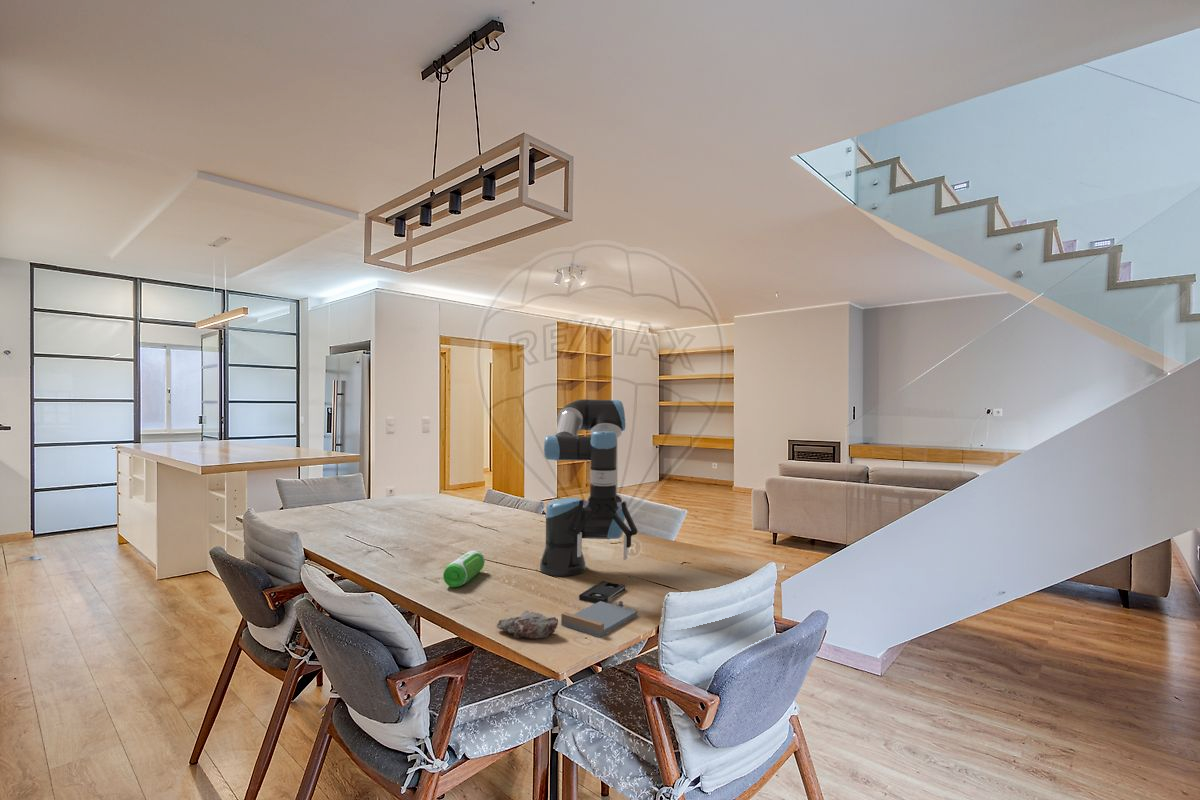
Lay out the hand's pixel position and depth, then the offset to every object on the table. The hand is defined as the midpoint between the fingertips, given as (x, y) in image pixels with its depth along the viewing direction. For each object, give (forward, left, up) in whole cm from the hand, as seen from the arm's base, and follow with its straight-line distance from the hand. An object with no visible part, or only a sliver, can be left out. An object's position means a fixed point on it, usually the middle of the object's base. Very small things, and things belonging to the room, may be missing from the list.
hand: (602, 557), depth 164 cm
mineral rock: (-13, -31, -11) cm, 35 cm away
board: (+3, -19, -11) cm, 22 cm away
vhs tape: (0, 0, -12) cm, 12 cm away
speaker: (-44, +4, -11) cm, 46 cm away
